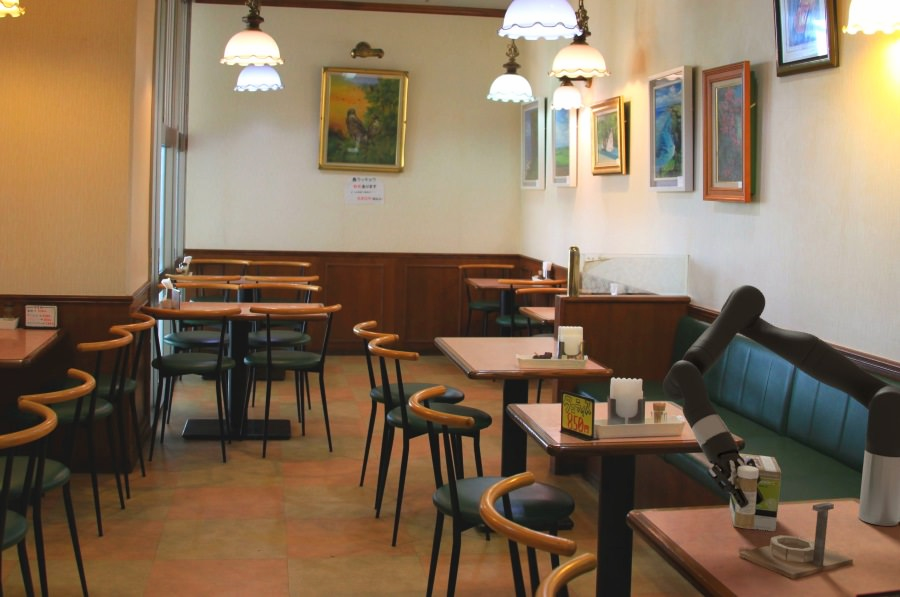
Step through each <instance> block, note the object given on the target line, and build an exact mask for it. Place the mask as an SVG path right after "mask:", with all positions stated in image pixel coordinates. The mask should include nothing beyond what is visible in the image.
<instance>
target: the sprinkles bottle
mask: <svg viewBox="0 0 900 597" xmlns="http://www.w3.org/2000/svg"><path fill="white" fill-rule="evenodd" d="M737 475H738V485H739V489H741V490H742V492H743V493H744V495H745V497H746V498H747V500H748V502H749V504H748V505H747V506H746V507H744V508H741V507H740V506H739V505H738V504H737V501H736V505H735V521H734V524H735V526H737V528H742V529H747V530H748V529H749V528H753V527H754V526H755V524H754V517H755V509H756V495H757V479H758V475H759V470H758V469H757V468H755V467H752V466H739V467H738V470H737ZM735 526H734V527H735ZM749 530H750V529H749Z"/></svg>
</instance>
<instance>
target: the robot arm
mask: <svg viewBox="0 0 900 597" xmlns="http://www.w3.org/2000/svg"><path fill="white" fill-rule="evenodd" d="M765 308H766V298H765V295H764V293H763V292H762V291H761V290H760V289H759V288H757V287H756V286H753V285H749V284H747V285H746V284H744V285H739V286H737V287H735V288H734V289H733V290H732V292H730V293H729V295H728V298H727V299H726V301H725V302H724V304H723V306H722V308H721V309H720V313H719V314H718V316H717V317H716V319H715V320H713V322H712V323H711V324H710V325H709V326H708V327H707V328H706V330H704V331H703V333H702V334H701V335H700V336H699V337H698V338H697V339H696V340H695V341H694V342H693V343H692V345H691V346H690V347H689V348H688V350H687V351H686V352H685V353H684V355H683V357H682V359H681V360H678V361H676V362H675V363H673V364H672V366H671V368H670V369H669V371H668V373H666V374H667V375H665V378H664V379H663V382H662V390H663V392H664V394H665V396H666V397H668V399H670V400H673V401H682V400H683V406H682V413H683V416H684V417H685V420H686V421H687V422H686V423H688V425H689V427H690V429H691V431H692V433H693V435H694V437H695V439H696V441H697V443H698V445H699V447H700V448H701V450H702V452H703V454H704V455H705V458H706V459H707V461H708V462H709V464H711V465H713V466H712V467H710V468H709V469H708V470H706V471H707V475H708V477H710V478H711V479H712V481H713V482H714V483H715V484H716V486H717V487H718V489H719V490H721V491H722V493H725V494H726V493H729V494H730V495H731V494H732V495H733V497H734V498H735V500H736V501H737V504H738V505H739V506H740V507H741V508H744V507H746V506H747V505H748V504H749V502H748V500H747V498H746V497H745V495H744V493H743V492H742V490H741V489H739V485H738V482H737V480H738V475H737V470H738V467H739V466H752V467H755V468H757V467H756V464H755V461H754V460H753V459H750V460H749V461H746V460H744V459H743V458H742V457H741V456H740V455H739V451H740V450H739V449H740V447H739V445H738V443H737V441H736V440H735V438H734V436H733V435H732V433H731V432H730V430H729V428H728V427H727V424H726V423H725V422H724V420H723V419H722V418H721V416H720V415H719V414H718V412H717V410H716V408H715V407H714V405H713V404H712V402H711V400H710V397H709V392H708V390H707V386H706V384H705V379H704V376H705V375H706V374H707V373H708V371H710V370H711V369H712V368H713V366H714V365H715V364H716V363H717V362H718V360H719V359H720V358H721V357H722V355H724V353H725V351H726V350H727V348H728V347H729V345H730V344H731V342H732V341H733V340H734V338H735V337H736V335H737V334H740V335H742V336H743V337H745V338H747V339H749V340H751V341H752V342H755V343H757V344H759V345H760V346H763V347H764V348H766V349H767V350H769V351H771V353H774V354H776V355H777V356H779V357H780V358H781V359H784V360H785V361H786V362H788V363H790V364H791V365H792V366H794V367H795V368H797V369H798V370H800V371H801V372H802V373H804V374H806V375H807V376H809V377H810V378H811V379H814V380H816V381H818V382H819V383H821V384H824V385H826V386H829V387H831V388H832V389H833V388H834V389H835V390H838V391H840V392H843V393H844V394H846V395H847V396H849V397H851V398H852V399H854V400H855V401H857V402H858V403H859V404H860V405H862V406H863V407H864V408H866V409H867V411H868V414H867V424H866V425H867V426H866V434H865V435H866V436H865V444H864V455H863V456H864V457H863V465H862V466H863V467H862V474H861V475H862V478H861V487H860V495H859V496H860V497H859V505H858V506H859V507H858V519H860V520H861V521H862V522H866V523H869V524H872V525H877V526H883V527H894V526H898V525H899V523H900V388H899V387H896V386H894V385H892V384H891V383H888V382H886V381H884V380H882V379H880V378H878V377H876V376H874V375H873V374H871V373H869V372H867V371H866V370H864V369H863V368H861V367H860V366H859V365H857V364H856V363H855V362H854V361H852V360H851V359H850V358H848V357H847V356H846V355H845V354H843V353H842V352H840V351H839V350H837V349H836V348H834V347H833V346H832V345H830V344H829V343H827V342H826V341H824V340H823V339H821V338H819V337H818V336H816V335H814V334H811V333H808V332H804V331H798V330H790V329H785V328H782V327H778V326H775V325H773V324H772V323H770V322H769V321H766V320H765V319H763V318H762V317H761V315H762V314H763V312H764V310H765ZM760 481H761V478H760V476H759V475H758V479H757V484H758V483H759V482H760ZM722 482H723V483H724V484H723V483H722ZM732 483H733V484H732ZM763 501H764V498H763V495H762V494H761V492H760V490H759V489H758V487H757V495H756V504H760V503H762V502H763Z"/></svg>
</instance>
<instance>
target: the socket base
mask: <svg viewBox="0 0 900 597" xmlns="http://www.w3.org/2000/svg"><path fill="white" fill-rule="evenodd" d="M834 507H835V504H834V503H832V502H828V501H827V502H822V503H816V504H813V505H812V511H815V512H817V513H816V524H815V525H816V526H815V534H814V542H813V541H811V540H809V539H806V538H803V537H799V536H794V535H784V534H783V535H782V534H781V535H776V536H772V537H771V536H770V540H769V545H764V546H761V547H757V548H751V549H747V550H743V551H740V552H739V557H740V558H742V559H744V558H745V560H746V559H747V560H746V561H749V560H750V561H749V562H751V561H752V562H751V563H754V564H756V563H757V564H756V565H758V564H759V566H761V567H764V568H765V567H766V569H768V570H771V571H772V570H773V571H772V572H775V571H776V572H775V573H777V572H778V574H779V575H782V574H783V575H782V576H784V575H785V577H787V578H789V577H790V578H789V579H792V580H794V579H799V578H801V577H805V576H810V575H814V574H817V573H818V574H819V573H821V571H822V572H825V570H826V571H829V569H830V570H834V569H837V568H841V567H845V566H848V565H852V564H853V563H854V559H853V558H851V557H848V556H847V555H844V554H840V553H839V552H838V553H837V552H835V551H833V550H830V549H827V548H826V539H827V528H828V518H829V510H830V511H831V510H833V509H835V508H834ZM816 572H817V573H816ZM813 573H814V574H813Z"/></svg>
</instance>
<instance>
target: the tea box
mask: <svg viewBox="0 0 900 597" xmlns="http://www.w3.org/2000/svg"><path fill="white" fill-rule="evenodd" d="M738 453H739V452H738ZM739 455H740V456H741V457H742V458H743V459H744V460H746V461H749V460H750V459H753V460H754V461H755V464H756V467H757V469H758V470H759V476H760V478H761V481H760V482H759V483H758V484H757V487H758V489H759V490H760V492H761V494H762V495H763V498H764V501H763V502H762V503H760V504H756V509H755V517H754V524H755V526H754V527H753V528H749V530H750V529H751V530H757V529H758V530H759V531H765V530H766V532H775V531H776V527H777V520H778V519H777V518H778V512H779V500H780V491H781V484H782V483H781V482H782V470H781V467H780V466H779V464H778V462H777V459H776V457H774V456H767V455H758V454H757V455H755V454H748V453H747V454H746V453H739ZM737 482H738V480H737ZM732 484H733V483H732ZM729 498H730V499H729V511H730V515H731V520H732V521H731V522H732V524H733V527H737V526H735V524H734V521H735V505H736V500H735V498H734V497H733V495H732V494H730V497H729ZM737 528H738V527H737ZM767 530H768V531H767Z"/></svg>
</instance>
